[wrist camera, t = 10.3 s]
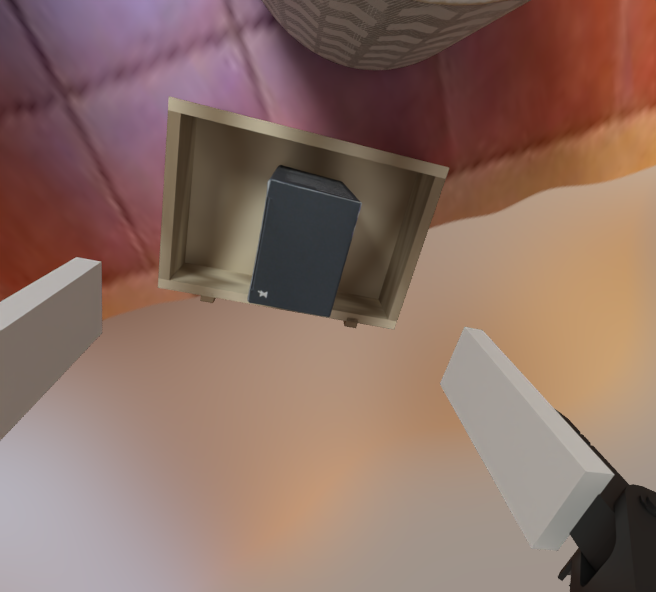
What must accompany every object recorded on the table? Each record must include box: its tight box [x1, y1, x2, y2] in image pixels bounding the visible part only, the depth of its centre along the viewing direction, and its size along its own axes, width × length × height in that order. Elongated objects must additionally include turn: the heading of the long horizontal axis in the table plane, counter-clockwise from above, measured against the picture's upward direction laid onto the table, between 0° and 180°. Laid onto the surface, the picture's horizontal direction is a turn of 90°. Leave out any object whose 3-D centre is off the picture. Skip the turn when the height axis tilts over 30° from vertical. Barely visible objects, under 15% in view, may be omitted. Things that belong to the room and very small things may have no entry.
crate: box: [158, 97, 449, 329], centre depth 31 cm, size 20×14×6 cm
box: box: [247, 165, 362, 317], centre depth 27 cm, size 8×6×11 cm
